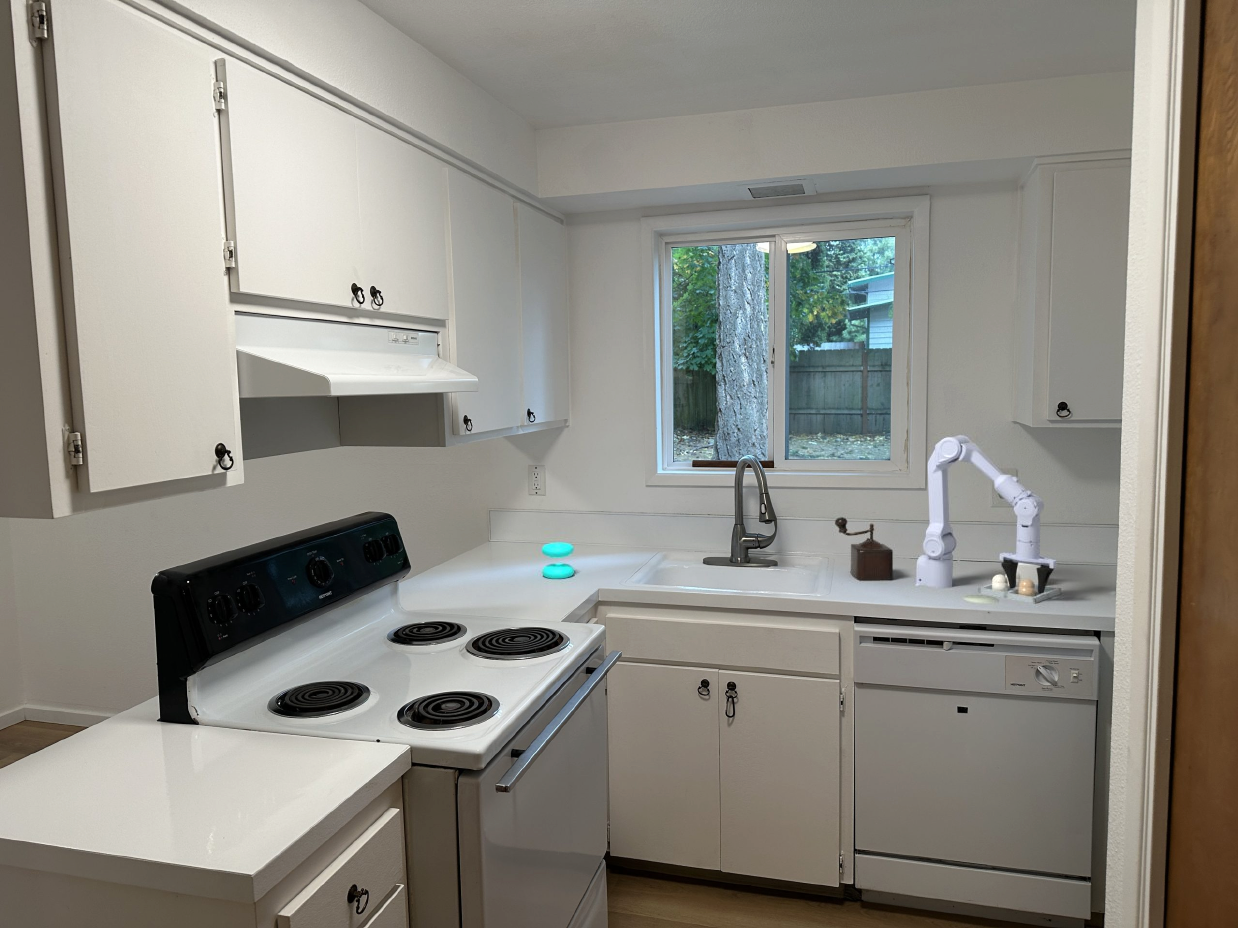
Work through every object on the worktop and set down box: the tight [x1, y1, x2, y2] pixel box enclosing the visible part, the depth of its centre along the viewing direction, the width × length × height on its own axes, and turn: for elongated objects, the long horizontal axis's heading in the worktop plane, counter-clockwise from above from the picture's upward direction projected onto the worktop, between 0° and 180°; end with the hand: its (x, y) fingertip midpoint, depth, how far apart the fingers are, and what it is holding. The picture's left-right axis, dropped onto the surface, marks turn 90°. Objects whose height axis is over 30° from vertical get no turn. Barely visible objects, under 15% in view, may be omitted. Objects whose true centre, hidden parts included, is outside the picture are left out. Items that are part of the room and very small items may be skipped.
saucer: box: [962, 594, 1000, 604], centre depth 234 cm, size 9×9×1 cm
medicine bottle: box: [1017, 563, 1041, 584], centre depth 250 cm, size 7×7×12 cm
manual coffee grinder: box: [834, 516, 894, 582], centre depth 264 cm, size 16×11×18 cm
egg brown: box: [1018, 579, 1035, 597], centre depth 234 cm, size 4×4×5 cm
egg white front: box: [991, 573, 1008, 592], centre depth 240 cm, size 4×4×5 cm
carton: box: [977, 583, 1062, 604], centre depth 239 cm, size 16×16×2 cm
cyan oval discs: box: [541, 542, 575, 580], centre depth 273 cm, size 10×10×10 cm
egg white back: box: [1004, 572, 1021, 588], centre depth 244 cm, size 4×4×5 cm
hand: (1026, 590), depth 234 cm, fingers open, 7 cm apart
